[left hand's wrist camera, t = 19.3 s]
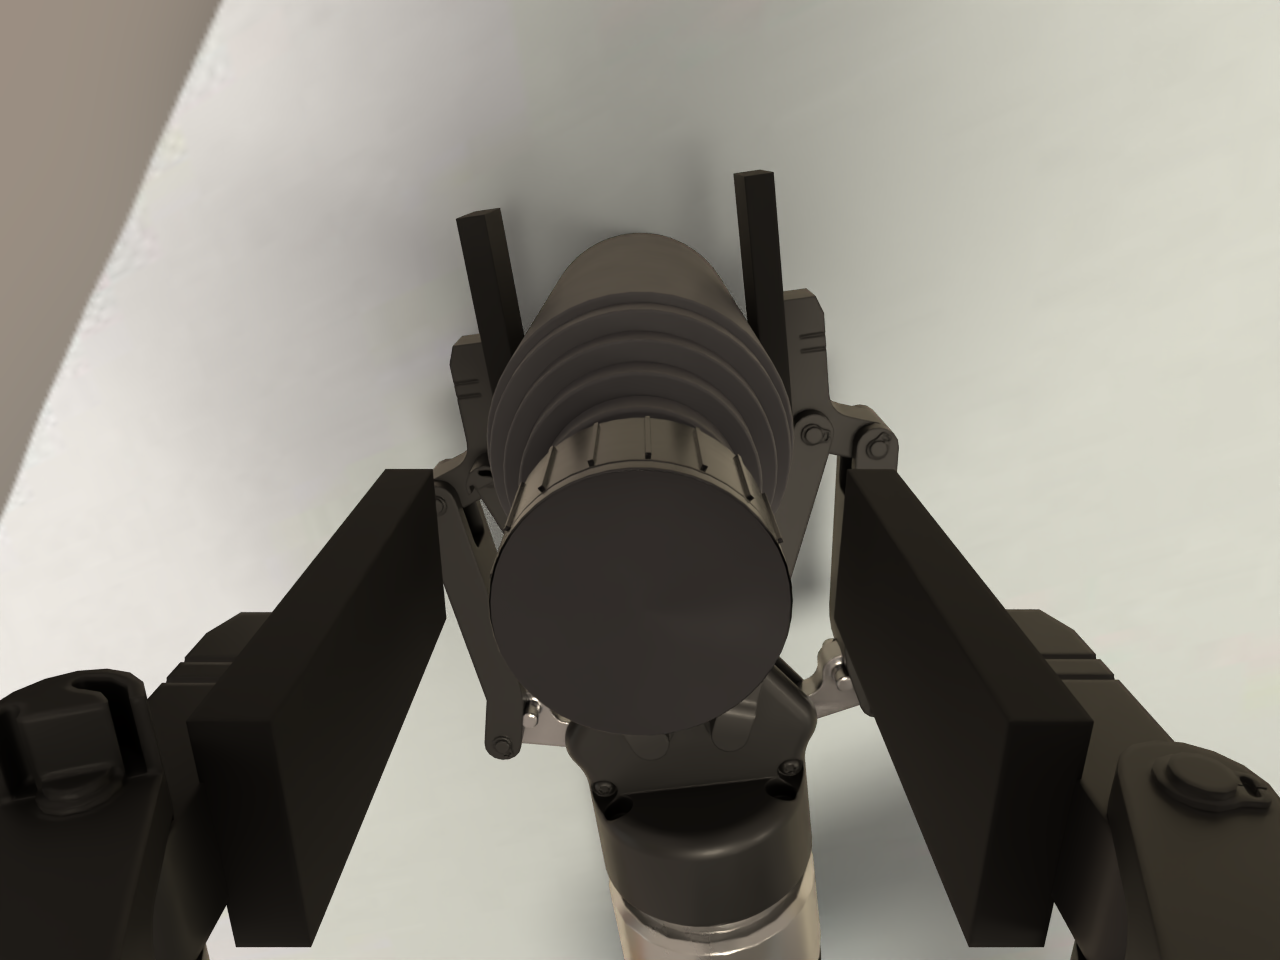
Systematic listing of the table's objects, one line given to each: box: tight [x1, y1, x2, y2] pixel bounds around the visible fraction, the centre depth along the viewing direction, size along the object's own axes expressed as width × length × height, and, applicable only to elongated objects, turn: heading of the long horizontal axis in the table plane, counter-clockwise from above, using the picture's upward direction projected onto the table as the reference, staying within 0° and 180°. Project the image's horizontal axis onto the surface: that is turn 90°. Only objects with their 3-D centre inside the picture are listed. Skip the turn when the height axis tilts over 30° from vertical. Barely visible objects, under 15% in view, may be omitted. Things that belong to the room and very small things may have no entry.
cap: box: [489, 416, 793, 736], centre depth 13 cm, size 4×4×2 cm
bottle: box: [487, 233, 794, 518], centre depth 22 cm, size 7×7×20 cm
